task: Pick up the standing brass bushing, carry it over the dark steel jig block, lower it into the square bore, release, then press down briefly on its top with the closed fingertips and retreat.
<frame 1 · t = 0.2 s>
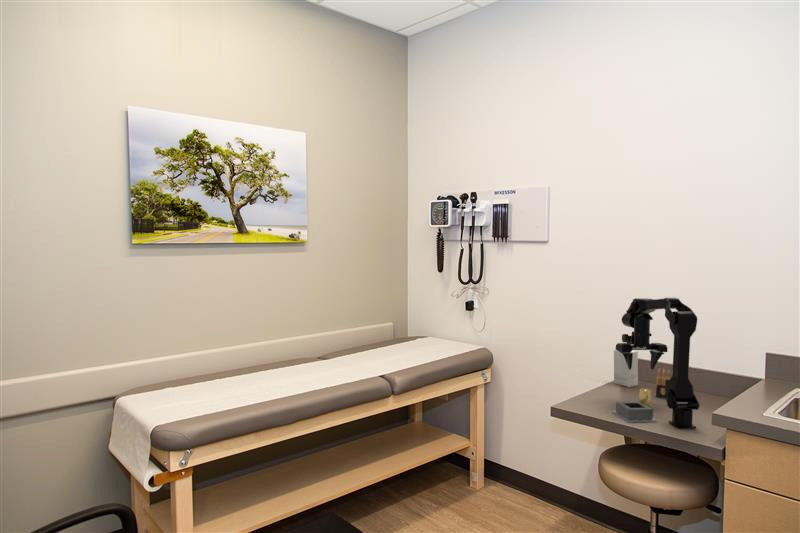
hand: (640, 369, 209), 13 cm above the table, fingers open, 9 cm apart
bushing: (644, 407, 204), on the table
skincare box: (625, 384, 237), on the table
jig: (633, 416, 193), on the table
ammunition clip: (670, 398, 217), on the table
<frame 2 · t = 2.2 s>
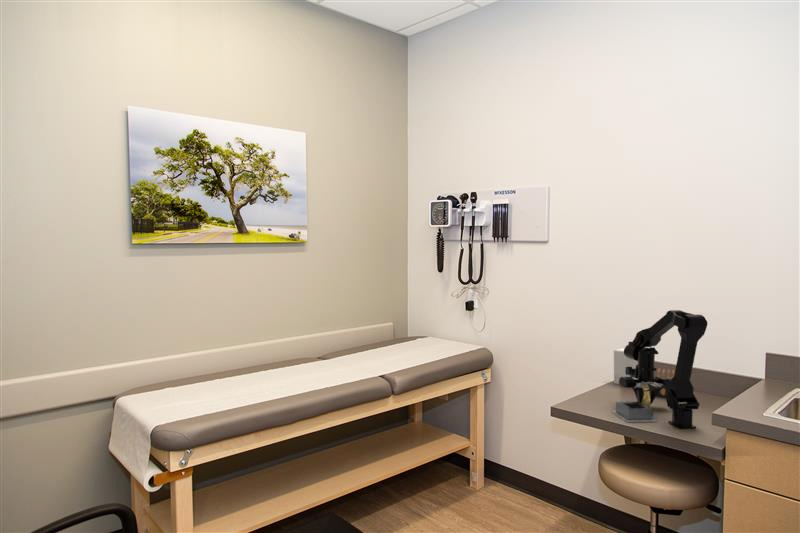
hand: (644, 403, 203), 2 cm above the table, fingers closed on bushing, 4 cm apart
bushing: (644, 407, 204), on the table, touching gripper
everything else where it was.
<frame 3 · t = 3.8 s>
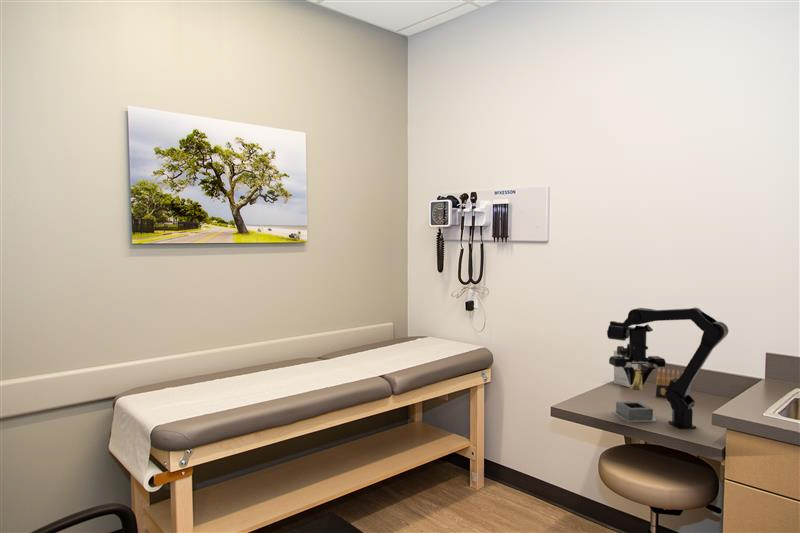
hand: (636, 384, 194), 11 cm above the table, fingers closed on bushing, 4 cm apart
bushing: (636, 388, 194), point 10 cm above the table, touching gripper
everything else where it was.
when the fingers open (5 cm above the table, at t = 5.3 s): bushing drops 3 cm, resting on jig.
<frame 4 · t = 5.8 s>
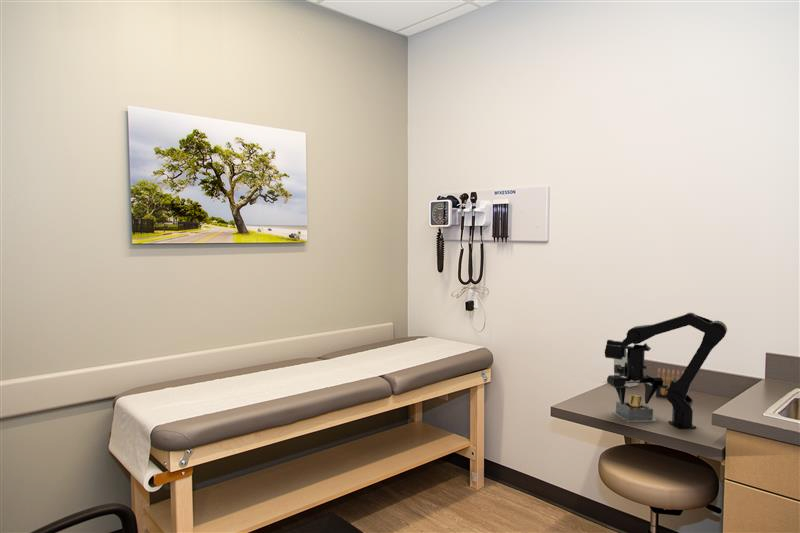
hand: (634, 403, 192), 5 cm above the table, fingers open, 9 cm apart
bushing: (634, 415, 193), point 1 cm above the table, touching jig
everything else where it was.
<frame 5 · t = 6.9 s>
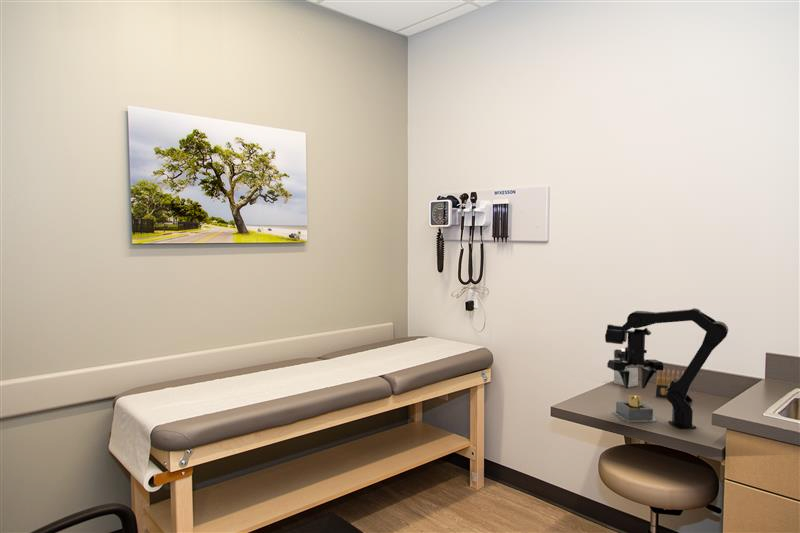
hand: (634, 388, 192), 10 cm above the table, fingers open, 6 cm apart
nothing on the table moved.
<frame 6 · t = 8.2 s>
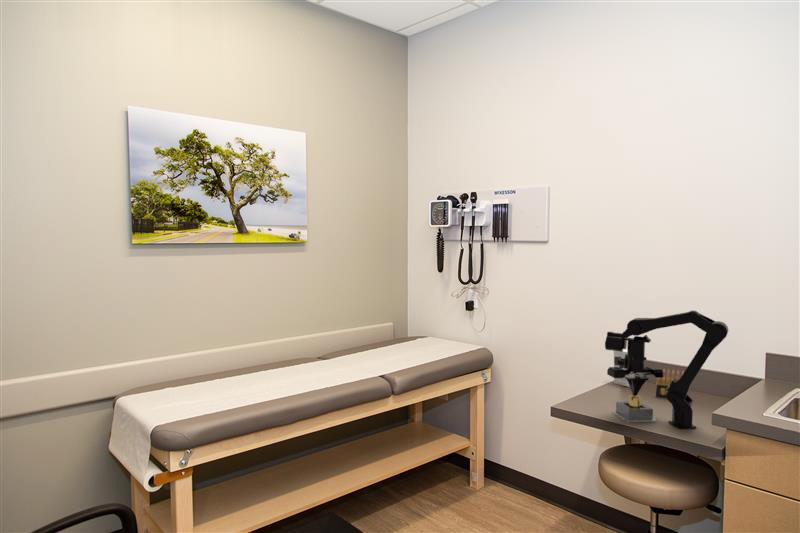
hand: (634, 395, 192), 8 cm above the table, fingers closed
nothing on the table moved.
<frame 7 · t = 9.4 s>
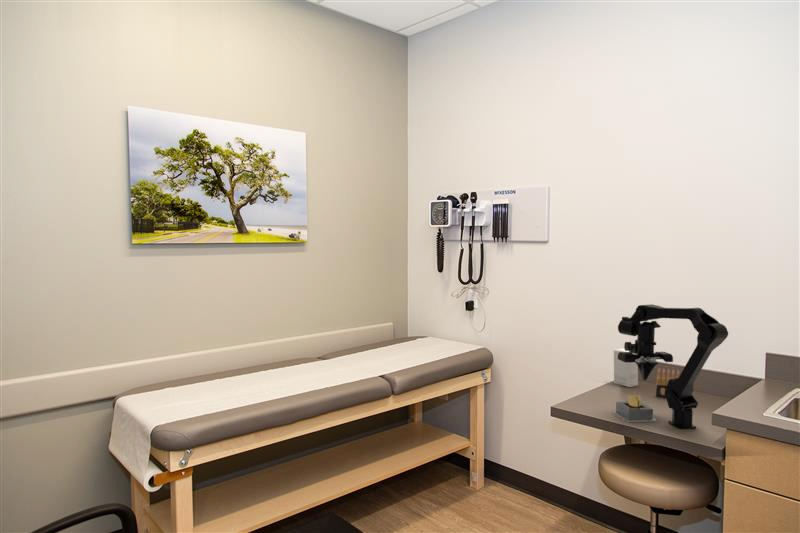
hand: (644, 379, 197), 12 cm above the table, fingers closed
nothing on the table moved.
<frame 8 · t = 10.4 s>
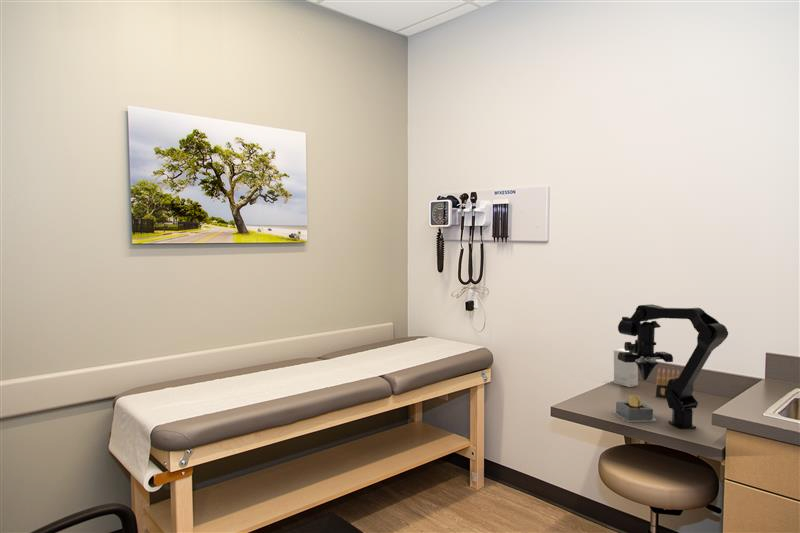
hand: (644, 379, 197), 12 cm above the table, fingers closed
nothing on the table moved.
at the end: bushing 0.1 cm off-centre on the jig, point 0.6 cm above the jig's base; bushing tilted 1°; the gripper is holding nothing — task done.
